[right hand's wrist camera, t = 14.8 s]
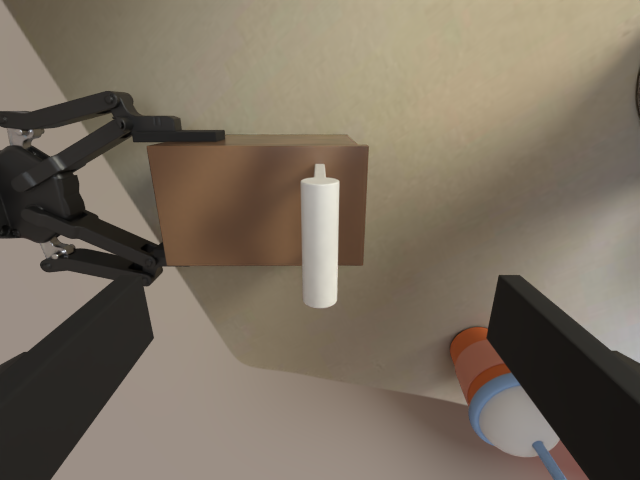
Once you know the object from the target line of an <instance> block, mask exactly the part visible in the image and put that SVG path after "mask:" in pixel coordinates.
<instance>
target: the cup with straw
mask: <svg viewBox="0 0 640 480" xmlns="http://www.w3.org/2000/svg"><path fill="white" fill-rule="evenodd" d="M487 331H488V329H487V328H483V327H474V328H469V329H467V330H464V331H462V332H461V333H459V334H458V335H457V336H456V337H455V338H454V340H453V341H452V344H451V347H450V354H451V357H452V360H453V363H454V365H455V371H456V375H457V378H458V380H459V383H460V385H461V388H462V391H463V393H464V396H465V399H466V401H467V404H468V406H469V420H470V423H471V426H472V428H473V429H474V431H475V432H476V434H477V435H478V436H479V437H480V438H481V439H483V440H484V441H485V442H487V443H489V444H491V445H493V446H496V447H497V448H499V449H500V450H502V451H504V452H506V453H509V454H511V455H515V456H520V457H533V456H538V455H539V457H540V458H541V460H542V462H543V463H544V465H545V466H546V468H547V470H548V471H549V473H550V474H551V476H552V478H553V479H554V480H567V479H566V477H565V476H564V474H563V473H562V471H561V470H560V468H559V467H558V466H557V464H556V462H555V461H554V459H553V458H552V456H551V455H550V453H549V452H548V451H549V450H551V449H552V448H553V447H554V446H555V445H556V444H557V443H558V441H559V440H560V439H559V437H558V436H557V434H556V433H555V432H554V430H553V429H552V428H551V426H550V425H549V424H548V422H547V421H546V419H545V418H544V417H543V415H542V414H541V413H540V411H539V410H538V408H537V407H536V406H535V404H534V403H533V402H532V400H531V399H530V397H529V396H528V395H527V393H526V392H525V391H524V389H523V388H522V386H521V385H520V384H519V382H518V381H517V380H516V378H515V377H514V376H513V374H512V373H511V371H510V370H509V369H508V367H507V366H506V365H505V363H504V362H503V360H502V359H501V358H500V356H499V355H498V354H497V352H496V351H495V349H494V348H493V347H492V345H491V344H490V343H489V341H488V340H487V339H486V336H487Z"/></svg>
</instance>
